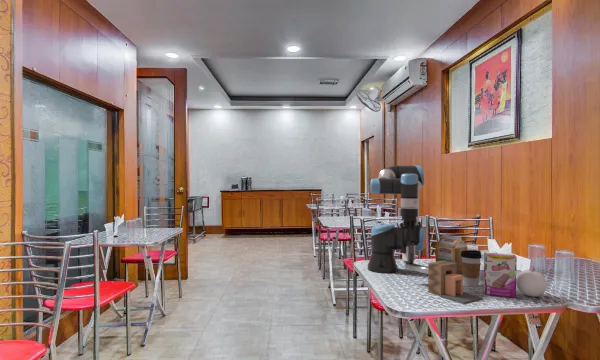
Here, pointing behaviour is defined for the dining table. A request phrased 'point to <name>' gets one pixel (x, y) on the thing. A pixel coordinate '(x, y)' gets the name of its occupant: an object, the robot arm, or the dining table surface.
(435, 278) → the brown notched block
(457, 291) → the spacer
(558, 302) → the dining table surface
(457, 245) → the milk carton
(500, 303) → the dining table surface
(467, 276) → the coffee cup
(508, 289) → the candy bar box
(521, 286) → the ornament
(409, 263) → the shaft
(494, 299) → the dining table surface
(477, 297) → the mat
